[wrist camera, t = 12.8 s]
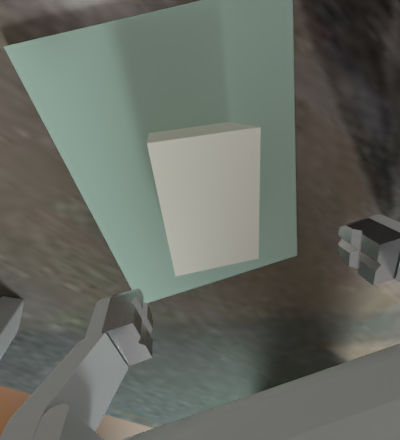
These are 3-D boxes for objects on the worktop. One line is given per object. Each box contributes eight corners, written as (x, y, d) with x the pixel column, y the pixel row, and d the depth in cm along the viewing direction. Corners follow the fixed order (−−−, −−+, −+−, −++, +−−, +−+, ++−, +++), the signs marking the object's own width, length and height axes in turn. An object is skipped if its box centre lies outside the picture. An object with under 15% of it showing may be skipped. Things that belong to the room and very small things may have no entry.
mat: (292, 251, 23) (297, 255, 22) (140, 298, 22) (140, 305, 21) (284, -15, 13) (292, -22, 12) (12, 50, 12) (3, 46, 11)
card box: (229, 121, 15) (260, 127, 11) (234, 223, 19) (258, 258, 14) (148, 133, 14) (146, 143, 10) (169, 236, 18) (175, 276, 14)
